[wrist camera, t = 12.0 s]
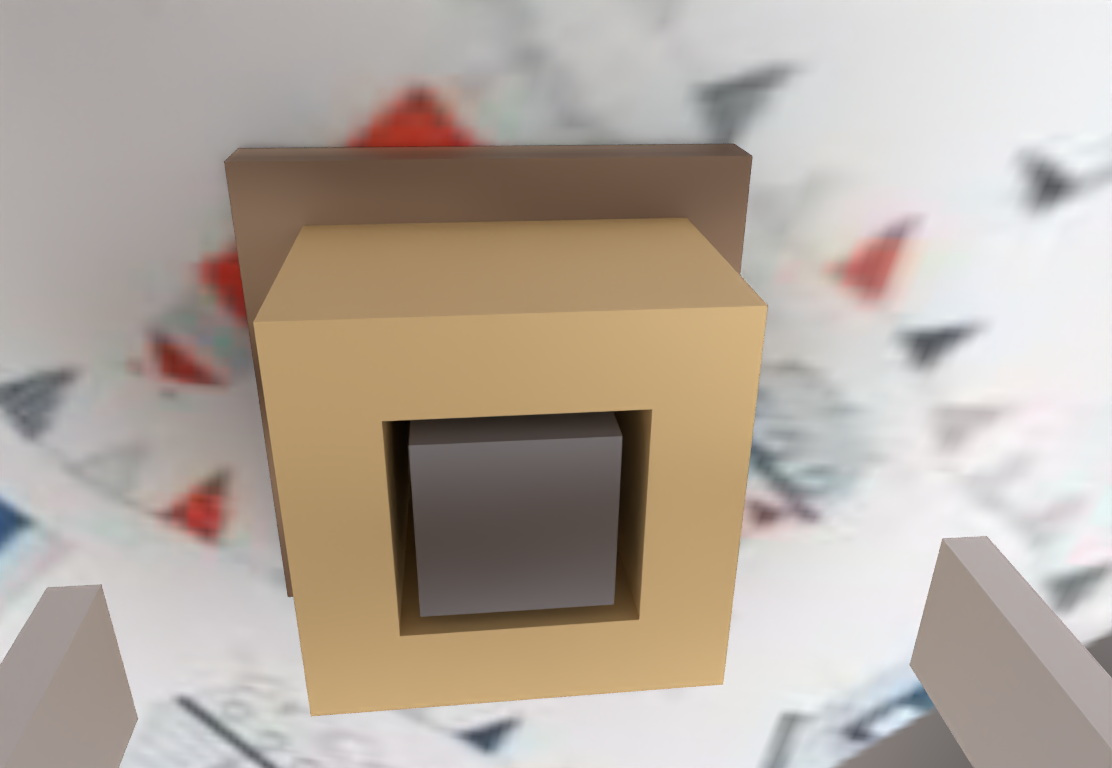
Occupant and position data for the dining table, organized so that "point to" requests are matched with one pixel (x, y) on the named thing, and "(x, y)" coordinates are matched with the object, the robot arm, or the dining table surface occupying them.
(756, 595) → the dining table surface
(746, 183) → the post base
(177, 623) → the dining table surface
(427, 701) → the collar
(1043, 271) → the dining table surface
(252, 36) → the dining table surface
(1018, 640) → the robot arm
